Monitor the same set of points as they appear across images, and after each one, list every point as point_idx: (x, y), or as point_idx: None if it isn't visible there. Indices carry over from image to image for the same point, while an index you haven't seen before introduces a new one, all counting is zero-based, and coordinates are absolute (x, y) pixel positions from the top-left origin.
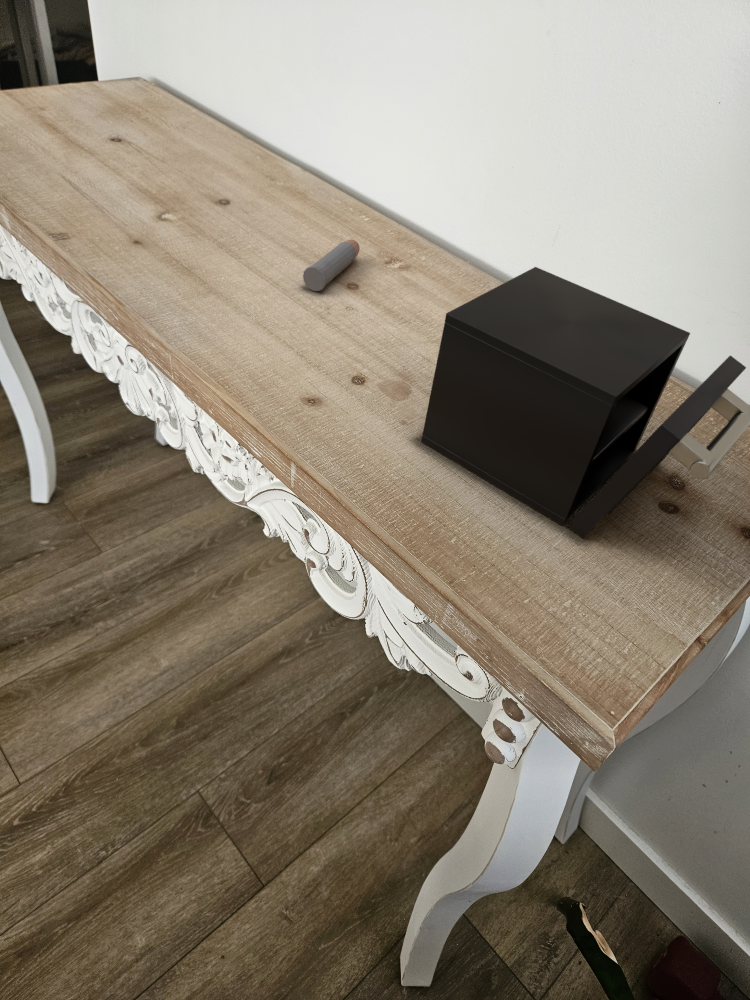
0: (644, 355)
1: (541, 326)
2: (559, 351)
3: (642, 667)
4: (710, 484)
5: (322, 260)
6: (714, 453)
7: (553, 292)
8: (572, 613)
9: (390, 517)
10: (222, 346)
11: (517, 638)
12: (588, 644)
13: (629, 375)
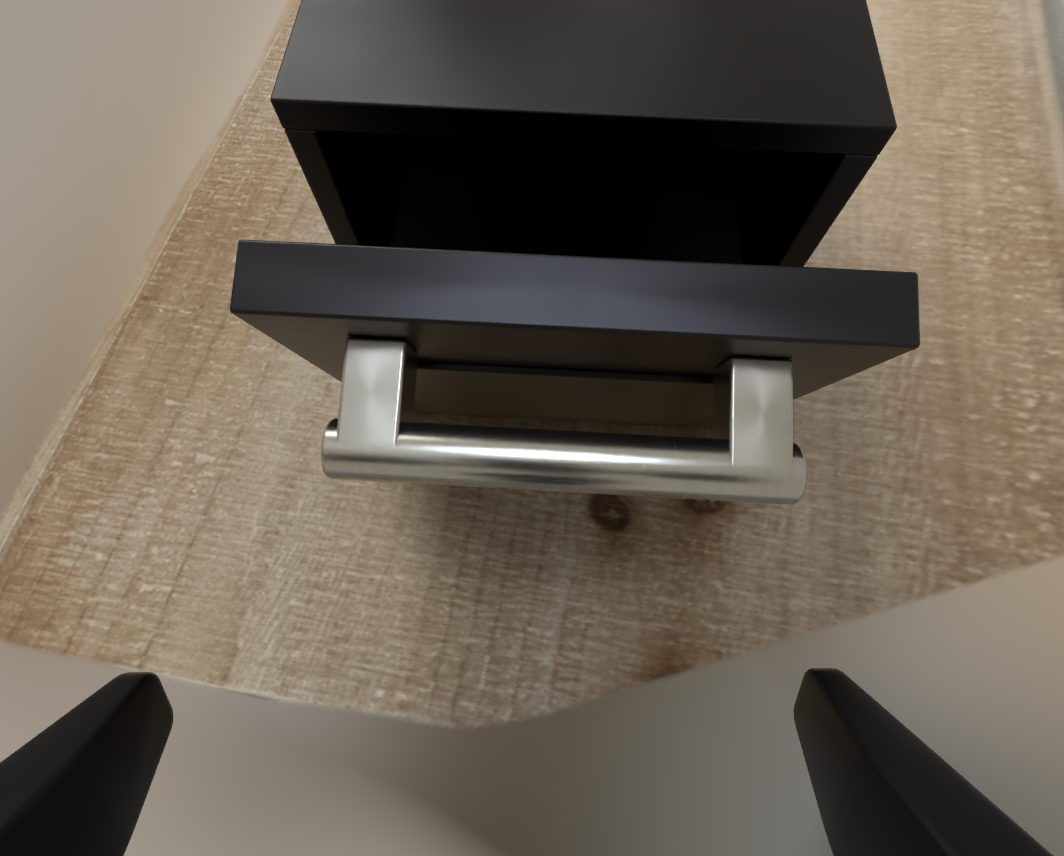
0: (589, 79)
1: None
2: None
3: (120, 629)
4: (774, 559)
5: None
6: (399, 446)
7: None
8: (185, 474)
9: (231, 173)
10: None
11: (79, 427)
12: (126, 526)
13: (422, 86)
